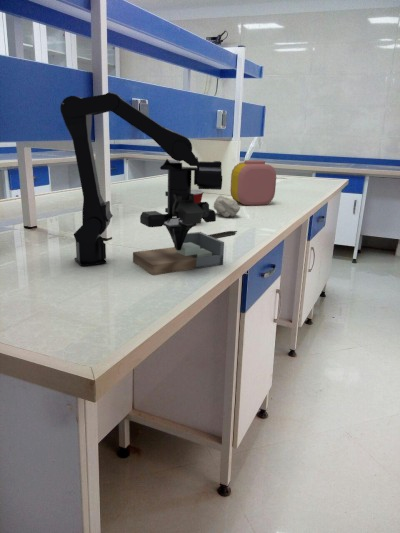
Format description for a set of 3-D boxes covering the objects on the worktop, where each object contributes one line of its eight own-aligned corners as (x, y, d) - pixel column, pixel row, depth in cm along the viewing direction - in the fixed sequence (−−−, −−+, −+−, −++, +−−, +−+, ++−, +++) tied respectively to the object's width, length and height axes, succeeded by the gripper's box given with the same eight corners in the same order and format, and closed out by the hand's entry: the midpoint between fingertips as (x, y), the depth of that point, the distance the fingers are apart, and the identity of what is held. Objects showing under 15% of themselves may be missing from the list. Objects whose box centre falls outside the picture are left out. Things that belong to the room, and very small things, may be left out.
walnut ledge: (152, 275, 106) (152, 265, 106) (133, 261, 116) (132, 252, 115) (196, 268, 112) (196, 258, 111) (174, 255, 122) (174, 247, 121)
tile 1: (185, 256, 114) (185, 248, 113) (175, 251, 117) (176, 244, 116) (199, 253, 116) (200, 246, 115) (190, 249, 120) (190, 242, 119)
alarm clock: (264, 201, 214) (268, 159, 208) (275, 205, 204) (279, 161, 198) (228, 202, 208) (231, 159, 202) (237, 206, 198) (240, 161, 192)
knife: (234, 232, 153) (234, 228, 152) (247, 236, 148) (247, 232, 147) (172, 241, 138) (172, 237, 138) (183, 246, 133) (184, 242, 133)
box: (196, 268, 112) (197, 245, 110) (174, 255, 122) (174, 234, 120) (223, 264, 116) (224, 242, 114) (199, 252, 126) (200, 231, 124)
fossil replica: (223, 212, 185) (207, 217, 178) (221, 192, 182) (205, 196, 175) (246, 215, 176) (230, 220, 170) (245, 193, 174) (229, 198, 167)
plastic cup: (175, 219, 167) (176, 187, 163) (204, 221, 166) (205, 188, 162) (170, 226, 156) (170, 191, 153) (201, 228, 155) (202, 193, 152)
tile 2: (197, 262, 116) (197, 254, 115) (188, 257, 119) (188, 250, 119) (211, 259, 118) (212, 252, 117) (202, 255, 122) (202, 248, 121)
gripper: (158, 195, 98) (158, 263, 103) (229, 191, 108) (226, 254, 112) (139, 188, 108) (139, 251, 112) (205, 185, 117) (203, 243, 121)
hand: (178, 250), depth 114 cm, fingers closed
